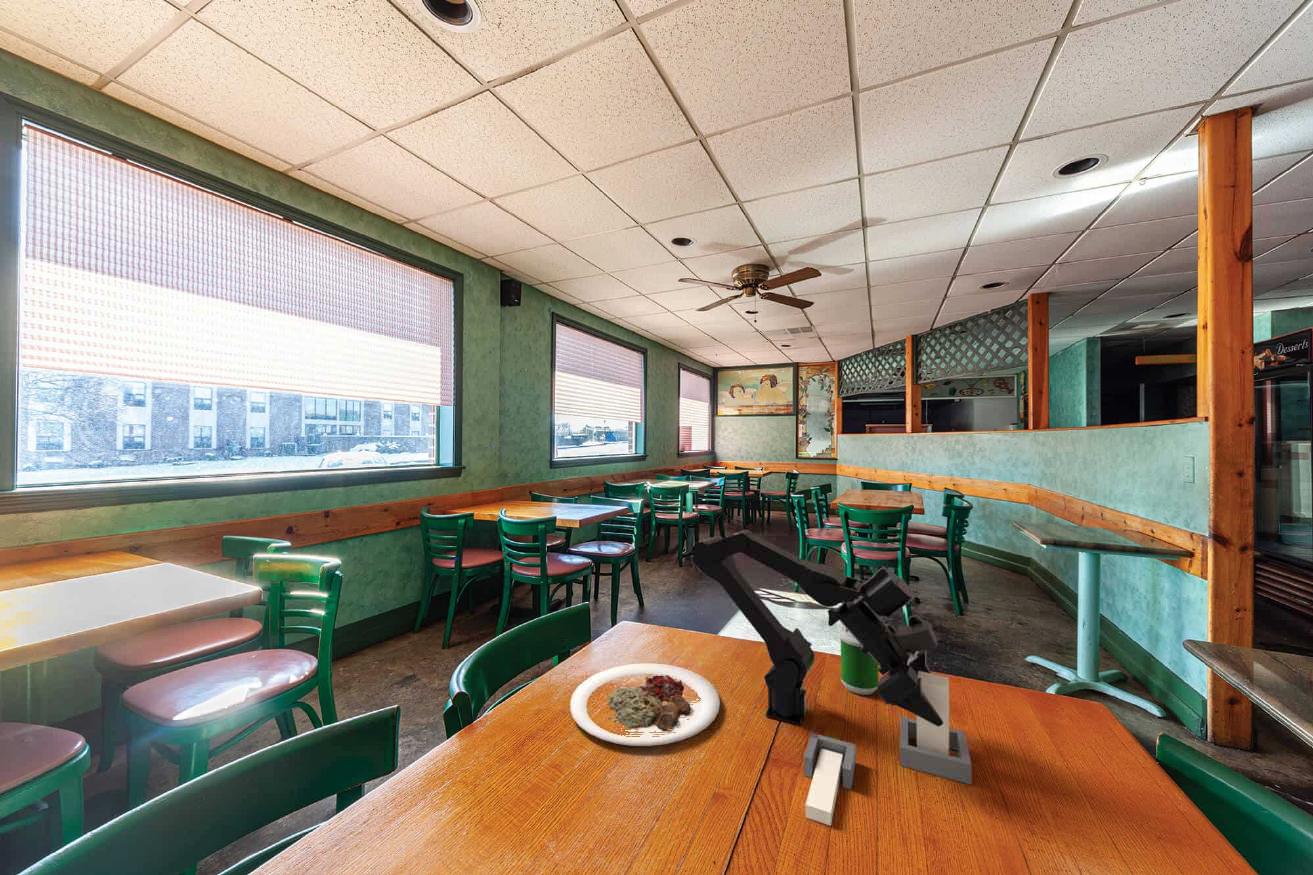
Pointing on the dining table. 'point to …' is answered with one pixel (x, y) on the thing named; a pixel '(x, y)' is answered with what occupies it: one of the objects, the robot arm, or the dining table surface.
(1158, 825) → the dining table surface
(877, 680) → the soda can
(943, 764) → the grey square frame
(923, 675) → the white rectangular block
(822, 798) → the cap with slat
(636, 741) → the plated food
